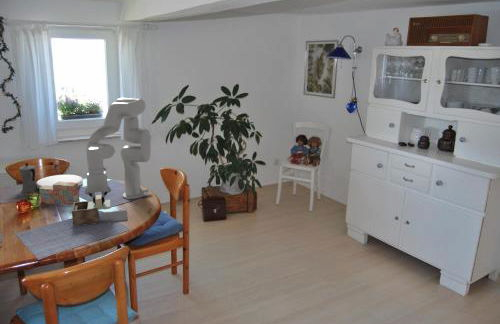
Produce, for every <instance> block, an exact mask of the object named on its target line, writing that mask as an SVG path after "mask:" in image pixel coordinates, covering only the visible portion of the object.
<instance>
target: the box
mask: <svg viewBox="0 0 500 324" xmlns="http://www.w3.org/2000/svg"><path fill="white" fill-rule="evenodd" d="M92 201H93V200H85V201H80V202H74V204H73V206H72V208H71V217H72V227H76V226H75V225H79V226H84V225H83V224H88V225H94V224H93V223H97V224H99V220H98V219H100V212H99V210H97V208H93V209H87V208H88V202H92Z"/></svg>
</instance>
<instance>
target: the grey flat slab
mask: <svg viewBox="0 0 500 324" xmlns="http://www.w3.org/2000/svg"><path fill="white" fill-rule="evenodd" d="M127 214H128V213H127V209H125V210H115V211H113V210H112V211H106V212H105V211H104V212H101V220H100V221H101V222H100V223H101V224H107V223H108V222H110V223H118V222H126V221H128V215H127Z"/></svg>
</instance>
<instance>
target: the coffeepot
mask: <svg viewBox="0 0 500 324" xmlns="http://www.w3.org/2000/svg"><path fill="white" fill-rule="evenodd" d="M24 164H25V165H23V166H20V167H19V168H18V169H19V172H20V175H21V179H22V192H23V193H26V192H27V193H34V192H37V191H38V190H39V187H37V181H36V178H35V177H36V166H35V165H29V163H28V162H25V163H24Z"/></svg>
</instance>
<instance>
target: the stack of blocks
mask: <svg viewBox="0 0 500 324" xmlns="http://www.w3.org/2000/svg"><path fill="white" fill-rule="evenodd" d="M79 188H80V187H79V186H78V183H73V182H60V181H59V182H57V183H55V184H53V186H48V185H45V186H43V187H41V188H39V187H38V190H39V191H38V192H39V198H40V203H41V204H46V205H61V206H71V207H73V204H74V202H81V201H80V199H81V198H80V189H79Z"/></svg>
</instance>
